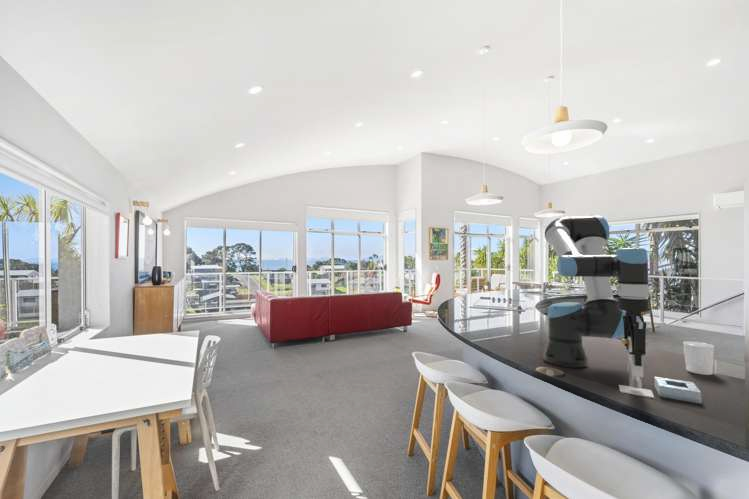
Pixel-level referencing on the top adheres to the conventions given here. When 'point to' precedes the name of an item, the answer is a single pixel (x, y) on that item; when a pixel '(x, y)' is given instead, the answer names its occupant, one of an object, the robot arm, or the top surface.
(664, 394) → the block
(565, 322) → the robot arm
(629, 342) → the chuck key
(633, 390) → the mat
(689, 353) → the white cup
